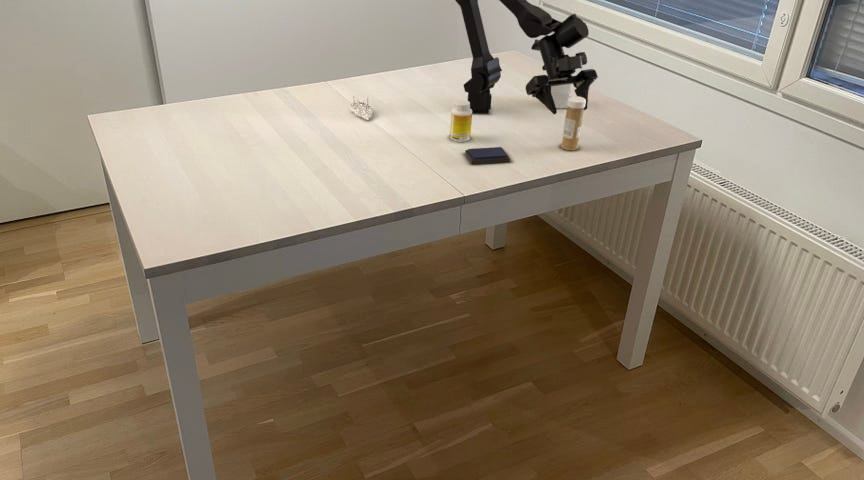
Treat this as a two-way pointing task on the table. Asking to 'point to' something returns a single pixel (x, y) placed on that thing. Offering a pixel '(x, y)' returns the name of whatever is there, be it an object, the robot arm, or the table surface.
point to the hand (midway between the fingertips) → (570, 111)
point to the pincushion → (361, 109)
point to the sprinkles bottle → (573, 122)
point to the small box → (561, 94)
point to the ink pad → (487, 155)
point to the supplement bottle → (461, 121)
